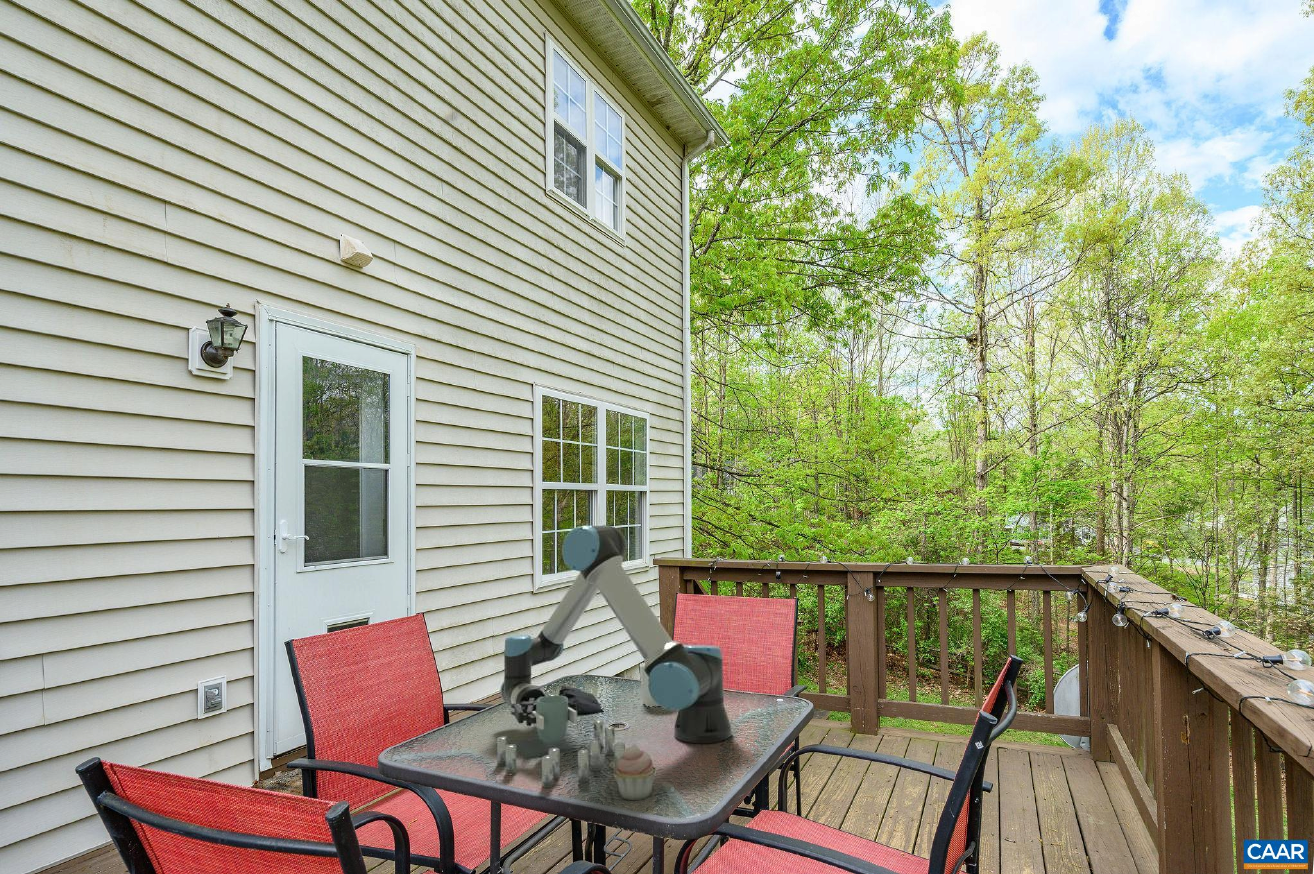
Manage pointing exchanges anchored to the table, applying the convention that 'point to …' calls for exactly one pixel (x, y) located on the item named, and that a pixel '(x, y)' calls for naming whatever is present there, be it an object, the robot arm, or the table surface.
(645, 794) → the cupcake
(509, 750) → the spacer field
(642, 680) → the candle holder
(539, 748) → the slate coaster
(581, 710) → the dark slate chunk
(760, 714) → the table surface
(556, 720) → the cup
